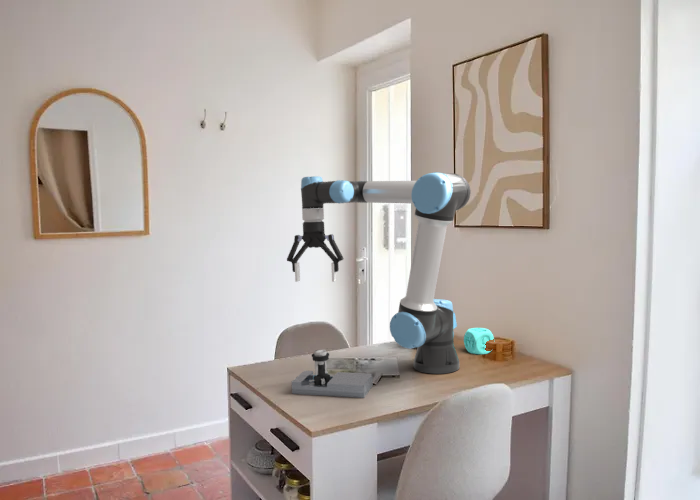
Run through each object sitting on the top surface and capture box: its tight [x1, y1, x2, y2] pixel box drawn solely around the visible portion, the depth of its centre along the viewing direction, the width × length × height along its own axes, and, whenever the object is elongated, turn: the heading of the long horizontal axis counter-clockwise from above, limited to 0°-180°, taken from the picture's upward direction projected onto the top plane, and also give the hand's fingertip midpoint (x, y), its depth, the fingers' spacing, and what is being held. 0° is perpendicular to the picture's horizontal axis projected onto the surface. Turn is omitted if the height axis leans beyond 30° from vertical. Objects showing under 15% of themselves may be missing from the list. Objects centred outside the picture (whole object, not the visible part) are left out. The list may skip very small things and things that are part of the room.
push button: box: [310, 349, 331, 386], centre depth 168 cm, size 7×5×10 cm
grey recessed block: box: [291, 370, 374, 399], centre depth 168 cm, size 22×11×4 cm, turn 75°
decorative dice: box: [463, 327, 495, 355], centre depth 204 cm, size 8×8×8 cm
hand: (315, 281), depth 197 cm, fingers open, 13 cm apart
